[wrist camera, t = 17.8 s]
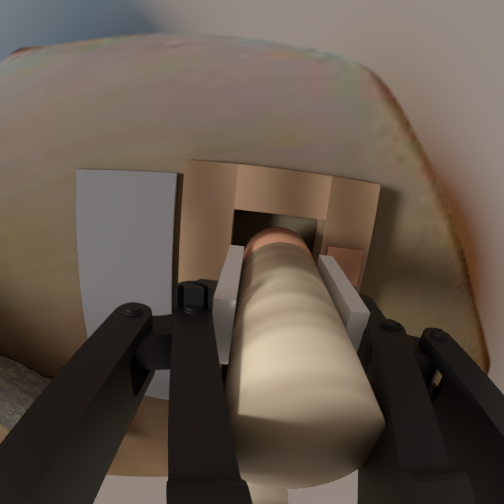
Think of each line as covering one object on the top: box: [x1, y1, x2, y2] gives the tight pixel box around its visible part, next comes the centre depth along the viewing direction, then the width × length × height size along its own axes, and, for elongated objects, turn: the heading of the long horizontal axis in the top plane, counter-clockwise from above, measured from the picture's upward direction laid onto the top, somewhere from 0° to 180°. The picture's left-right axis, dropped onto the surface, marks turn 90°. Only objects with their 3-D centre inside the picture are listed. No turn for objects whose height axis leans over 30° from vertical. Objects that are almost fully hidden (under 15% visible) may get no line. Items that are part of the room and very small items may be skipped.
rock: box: [0, 355, 52, 430], centre depth 25 cm, size 17×7×10 cm
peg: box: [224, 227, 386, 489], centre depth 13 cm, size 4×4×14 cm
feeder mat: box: [76, 169, 178, 400], centre depth 23 cm, size 8×20×1 cm, turn 174°
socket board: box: [178, 159, 381, 375], centre depth 22 cm, size 12×22×3 cm, turn 174°
